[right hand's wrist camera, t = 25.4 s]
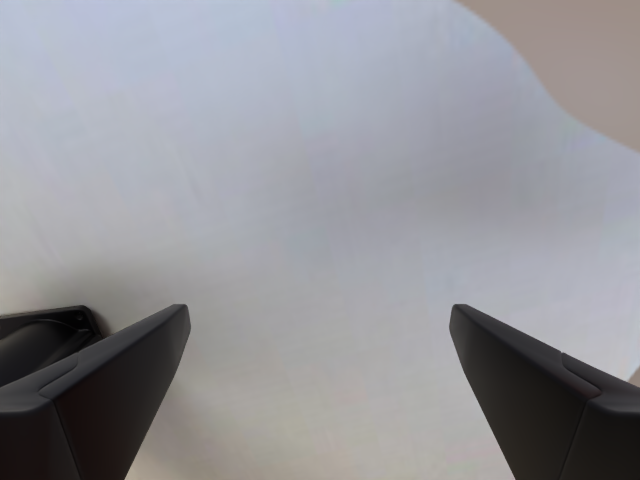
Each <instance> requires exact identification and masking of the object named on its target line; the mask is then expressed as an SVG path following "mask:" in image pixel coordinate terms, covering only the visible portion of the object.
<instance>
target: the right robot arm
mask: <svg viewBox="0 0 640 480" xmlns="http://www.w3.org/2000/svg"><path fill="white" fill-rule="evenodd" d="M79 312H80V313H82V315H81V314H80V313H79ZM190 330H191V324H190V318H189V311H188V307H187V305H185V304H173V305H171V306H169V307H167V308H165V309H163V310H161V311H159V312H157V313H155V314H153V315H151V316H149V317H147V318H145V319H143V320H141V321H139V322H137V323H135V324H133V325H131V326H129V327H127V328H125V329H123V330H121V331H119V332H117V333H115V334H113V335H111V336H109V337H107V338H105V339H103V337H102V335H101V333H100V331H99V329H98V326H97V324H96V322H95V320H94V317H93V315H92V313H91V311H90V309H89V308H87V307H86V306H83V305H79V306H72V307H65V308H57V309H50V310H43V311H35V312H28V313H21V314H14V315H6V316H0V480H124V479H125V477H126V475H127V473H128V471H129V469H130V467H131V465H132V463H133V461H134V459H135V456H136V454H137V452H138V450H139V448H140V446H141V444H142V442H143V440H144V438H145V436H146V434H147V432H148V429H149V427H150V425H151V423H152V421H153V419H154V417H155V415H156V413H157V411H158V409H159V407H160V405H161V402H162V400H163V398H164V396H165V394H166V392H167V390H168V388H169V386H170V384H171V382H172V380H173V378H174V375H175V373H176V371H177V368H178V366H179V363H180V360H181V357H182V354H183V351H184V348H185V345H186V342H187V340H188V337H189V334H190ZM449 330H450V334H451V337H452V340H453V342H454V345H455V348H456V351H457V354H458V357H459V360H460V363H461V366H462V368H463V371H464V373H465V375H466V377H467V380H468V382H469V384H470V386H471V388H472V390H473V392H474V394H475V396H476V398H477V400H478V402H479V405H480V407H481V409H482V411H483V413H484V415H485V417H486V419H487V421H488V423H489V425H490V427H491V429H492V432H493V434H494V436H495V438H496V440H497V442H498V444H499V446H500V448H501V450H502V452H503V454H504V456H505V459H506V461H507V463H508V465H509V467H510V469H511V471H512V473H513V475H514V477H515V479H516V480H640V388H639V387H637V386H635V385H632V384H630V383H628V382H626V381H623V380H621V379H619V378H616V377H614V376H612V375H610V374H608V373H605V372H603V371H601V370H599V369H596V368H594V367H592V366H590V365H588V364H586V363H584V362H582V361H580V360H578V359H575V358H573V357H571V356H569V355H567V354H565V353H561V351H559V350H557V349H555V348H553V347H551V346H549V345H547V344H545V343H543V342H541V341H539V340H537V339H535V338H533V337H531V336H529V335H527V334H525V333H523V332H521V331H519V330H517V329H515V328H513V327H511V326H509V325H507V324H505V323H503V322H501V321H499V320H497V319H495V318H493V317H491V316H489V315H487V314H485V313H483V312H481V311H479V310H477V309H475V308H473V307H471V306H469V305H467V304H455V305H453V307H452V311H451V318H450V324H449Z"/></svg>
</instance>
